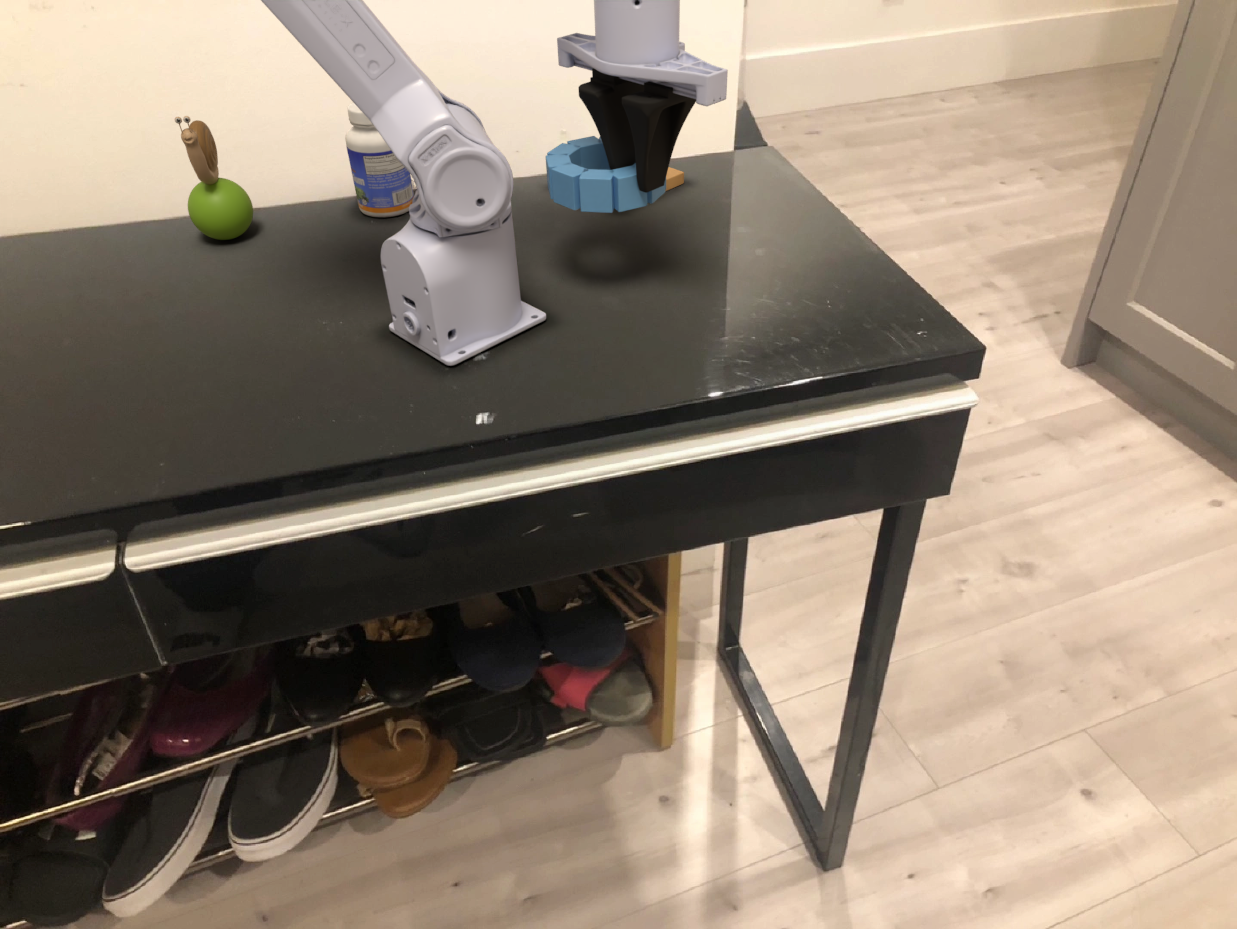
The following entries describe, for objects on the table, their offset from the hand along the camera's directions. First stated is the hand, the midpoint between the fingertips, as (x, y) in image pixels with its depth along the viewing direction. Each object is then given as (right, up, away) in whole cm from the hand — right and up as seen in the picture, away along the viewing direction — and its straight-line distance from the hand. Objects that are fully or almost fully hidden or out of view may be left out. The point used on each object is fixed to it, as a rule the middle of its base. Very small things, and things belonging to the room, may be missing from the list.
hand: (639, 183), depth 68 cm
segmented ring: (-2, 0, +3) cm, 4 cm away
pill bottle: (-24, +4, +20) cm, 32 cm away
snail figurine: (-37, -1, +16) cm, 41 cm away
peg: (-1, +7, +23) cm, 24 cm away
